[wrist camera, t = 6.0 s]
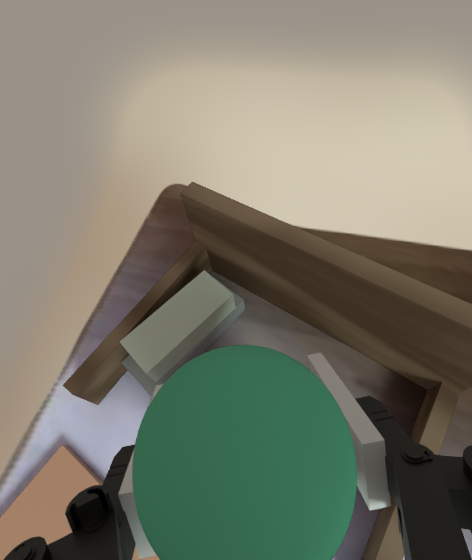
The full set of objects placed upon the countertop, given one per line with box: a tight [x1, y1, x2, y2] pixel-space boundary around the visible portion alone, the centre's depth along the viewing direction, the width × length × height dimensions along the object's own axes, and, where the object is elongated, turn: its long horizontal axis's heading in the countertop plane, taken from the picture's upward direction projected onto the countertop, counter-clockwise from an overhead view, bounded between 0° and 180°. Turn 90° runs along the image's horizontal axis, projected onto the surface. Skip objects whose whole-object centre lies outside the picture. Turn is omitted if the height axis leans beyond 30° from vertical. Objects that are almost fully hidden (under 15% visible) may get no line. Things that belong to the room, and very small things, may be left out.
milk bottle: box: [132, 345, 357, 560], centre depth 15 cm, size 8×8×20 cm
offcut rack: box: [63, 182, 472, 560], centre depth 22 cm, size 18×24×10 cm
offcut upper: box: [120, 270, 236, 382], centre depth 26 cm, size 9×4×2 cm, turn 135°
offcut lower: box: [121, 276, 245, 396], centre depth 28 cm, size 11×4×2 cm, turn 138°
